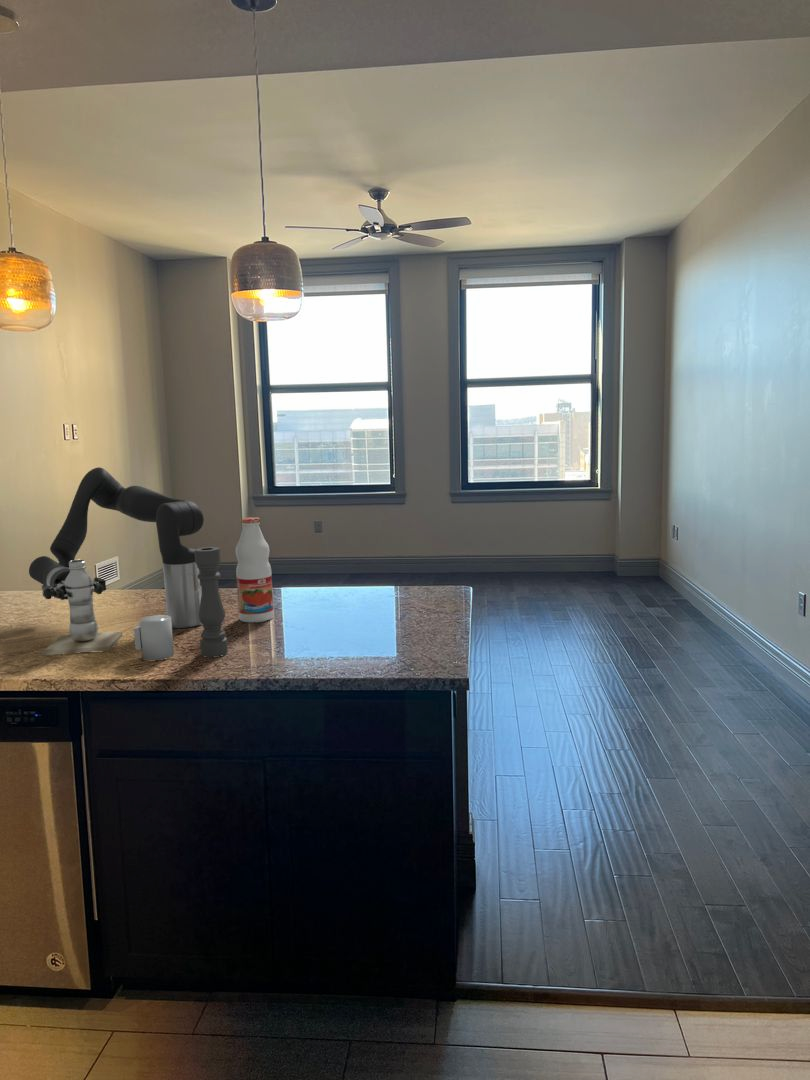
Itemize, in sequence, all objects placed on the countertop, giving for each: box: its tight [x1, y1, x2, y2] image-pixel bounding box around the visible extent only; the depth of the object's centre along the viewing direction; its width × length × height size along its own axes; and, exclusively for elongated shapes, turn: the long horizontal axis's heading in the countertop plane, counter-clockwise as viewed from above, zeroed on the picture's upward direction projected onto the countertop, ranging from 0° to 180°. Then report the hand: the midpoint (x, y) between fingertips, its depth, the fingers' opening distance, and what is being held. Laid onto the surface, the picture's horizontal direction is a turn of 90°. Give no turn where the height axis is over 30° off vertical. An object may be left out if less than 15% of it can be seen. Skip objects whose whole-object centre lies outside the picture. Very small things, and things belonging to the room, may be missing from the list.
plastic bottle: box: [64, 559, 99, 641], centre depth 185 cm, size 6×7×20 cm
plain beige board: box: [43, 631, 124, 656], centre depth 186 cm, size 15×13×1 cm
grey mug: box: [133, 614, 175, 661], centre depth 175 cm, size 8×7×9 cm
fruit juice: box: [235, 516, 275, 624], centre depth 205 cm, size 9×9×28 cm
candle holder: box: [194, 546, 229, 658], centre depth 175 cm, size 6×6×25 cm
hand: (81, 592), depth 183 cm, fingers open, 8 cm apart
